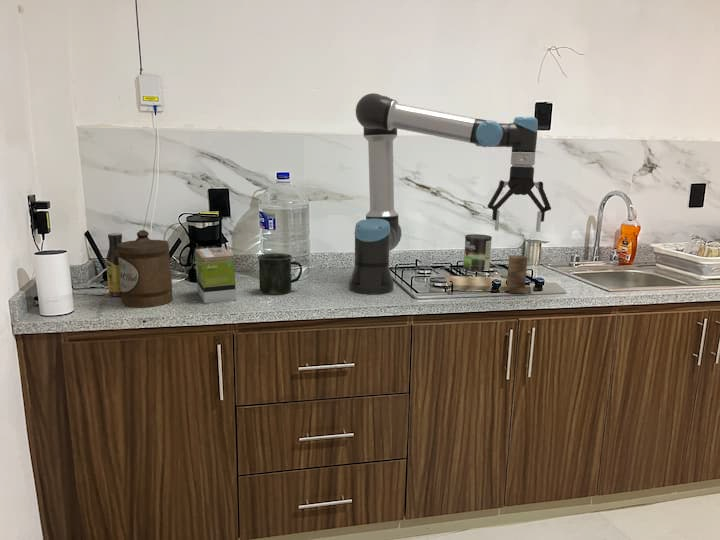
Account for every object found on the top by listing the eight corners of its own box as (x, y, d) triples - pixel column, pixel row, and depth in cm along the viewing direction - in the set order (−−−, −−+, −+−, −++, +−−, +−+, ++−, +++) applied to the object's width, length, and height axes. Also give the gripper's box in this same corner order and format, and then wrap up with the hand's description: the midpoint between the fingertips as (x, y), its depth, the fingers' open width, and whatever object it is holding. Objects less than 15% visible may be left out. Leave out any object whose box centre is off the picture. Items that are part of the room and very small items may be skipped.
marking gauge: (509, 292, 189) (512, 257, 187) (502, 283, 201) (505, 251, 199) (524, 293, 189) (527, 258, 186) (517, 284, 201) (519, 251, 199)
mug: (258, 287, 192) (258, 253, 190) (301, 287, 195) (301, 252, 192) (257, 296, 182) (256, 259, 179) (303, 295, 184) (302, 258, 182)
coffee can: (473, 275, 217) (475, 238, 214) (458, 269, 226) (459, 234, 223) (495, 272, 221) (497, 237, 218) (479, 267, 230) (481, 233, 227)
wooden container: (117, 298, 176) (111, 229, 172) (165, 292, 184) (161, 226, 180) (127, 310, 164) (121, 235, 160) (178, 303, 172) (174, 232, 167)
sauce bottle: (108, 293, 183) (103, 232, 178) (129, 291, 185) (125, 231, 181) (108, 298, 177) (103, 235, 172) (130, 296, 179) (125, 234, 175)
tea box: (196, 292, 185) (194, 248, 182) (227, 289, 189) (225, 246, 186) (203, 304, 172) (201, 256, 169) (236, 300, 176) (235, 254, 173)
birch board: (447, 290, 192) (447, 284, 192) (444, 281, 206) (444, 275, 206) (530, 293, 190) (531, 287, 190) (522, 283, 204) (522, 277, 204)
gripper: (485, 165, 181) (480, 231, 185) (564, 167, 179) (558, 233, 183) (482, 164, 188) (477, 227, 193) (558, 166, 186) (552, 230, 191)
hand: (517, 230), depth 188 cm, fingers open, 13 cm apart
